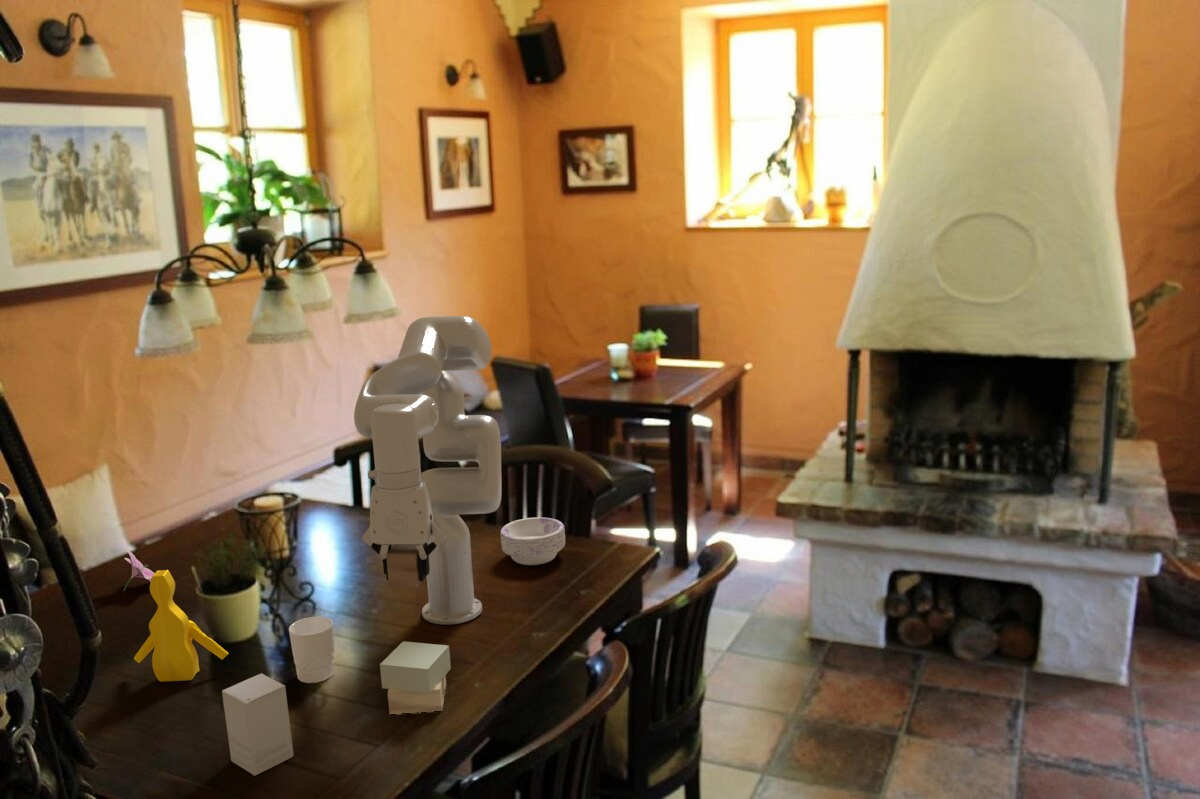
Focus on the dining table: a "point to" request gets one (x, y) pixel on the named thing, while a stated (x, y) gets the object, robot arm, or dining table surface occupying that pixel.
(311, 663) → the white cup
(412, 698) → the base block
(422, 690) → the top block
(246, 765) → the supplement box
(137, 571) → the lily
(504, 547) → the paper bowls
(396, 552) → the walnut block
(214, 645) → the figure statuette
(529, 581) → the dining table surface
